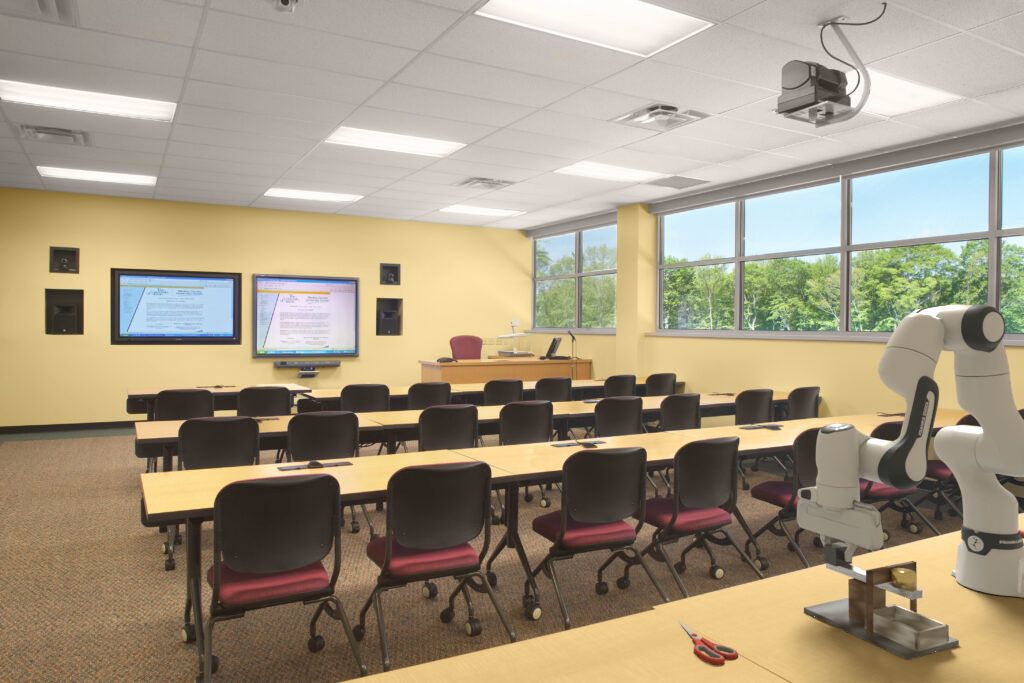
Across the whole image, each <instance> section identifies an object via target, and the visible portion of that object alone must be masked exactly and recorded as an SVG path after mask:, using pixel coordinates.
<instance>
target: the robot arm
mask: <svg viewBox="0 0 1024 683" xmlns="http://www.w3.org/2000/svg"><path fill="white" fill-rule="evenodd" d="M1005 333H1006V322H1005V318H1004V316H1003V314H1002V313H1001V312H1000V311H999V310H998V309H997V308H996V307H994V306H990V305H988V304H987V305H986V304H978V303H977V304H947V305H942V306H935V307H922V308H919V309H915V310H912V311H911V312H910V313H909V314H907V315H906V316H904V317H903V318H902V319H901V320H900V322H899V323H898V324H897V326H896V327H895V329H894V331H893V333H892V334H891V336H889V339H888V340H887V343H886V346H885V348H884V350H883V353H882V355H881V357H880V359H879V363H878V367H877V368H878V370H877V372H878V375H879V378H880V380H881V381H882V383H883V384H884V385H885V387H887V388H888V389H889V390H891V392H894V393H896V394H897V395H899V396H901V397H903V398H904V399H905V402H906V408H905V414H904V418H903V422H902V425H901V430H900V434H899V436H898V437H897V439H895V440H886V439H880V438H876V437H872V436H870V435H868V434H865V433H863V432H861V431H860V430H858V429H857V428H856V426H855V425H853V424H850V423H847V422H845V423H844V422H842V423H841V422H839V423H830V424H827V425H824V426H823V427H820V429H819V431H818V434H817V437H816V444H815V464H816V468H817V474H816V475H817V476H816V478H815V485H812V486H809V487H802V488H798V490H797V496H798V498H799V499H798V501H797V504H796V523H797V524H798V526H799V528H801V529H804V530H806V531H810V532H813V533H816V534H819V538H820V539H819V540H820V541H821V543H822V546H823V547H824V545H826V544H831V543H832V541H831V539H836V540H838V541H840V542H843V543H845V546H846V547H847V549H846V551H845V552H842V553H841V556H842V557H841V560H843V561H846V562H851V561H852V562H853V554H854V553H855V551H856V550H857V548H858V547H861V548H862V549H863V548H864V549H867V550H870V551H872V550H878V549H881V548H882V546H883V545H884V533H883V532H884V531H883V526H882V522H881V512H880V511H879V510H878V508H876V507H875V506H874V505H873V504H871V503H864V502H863V501H861V495H860V494H861V491H860V490H861V486H860V479H865V480H867V481H871V482H875V483H879V484H883V485H885V486H888V487H892V488H894V489H897V490H899V491H909V490H912V489H915V487H917V486H919V485H920V484H921V483H922V482H923V481H924V479H925V478H926V476H927V475H928V468H929V449H930V445H931V440H932V435H933V430H934V425H935V421H936V416H937V412H938V407H939V399H940V388H939V385H938V383H937V382H936V381H935V378H934V376H935V371H936V367H937V364H938V362H939V359H940V357H941V353H942V352H953V369H954V380H955V390H956V397H957V398H956V399H957V403H958V405H959V407H960V408H961V409H962V410H964V411H965V412H966V413H968V414H969V415H971V416H972V417H973V418H975V420H976V421H977V422H978V424H979V425H980V426H979V425H978V426H977V425H969V424H959V425H948V426H943V427H942V428H941V429H939V430H938V431H937V433H936V435H935V437H934V441H933V449H934V451H935V455H936V456H937V458H939V460H940V461H941V462H943V463H944V464H945V466H946V467H947V468H948V469H950V470H949V471H951V473H952V474H953V476H954V478H955V479H956V482H957V484H958V486H959V490H960V494H961V499H962V511H963V512H962V514H963V515H962V516H963V518H962V519H963V520H962V522H963V523H962V524H961V527H960V528H961V529H960V534H961V535H960V536H961V537H960V539H961V540H962V541H961V542H959V543H958V545H957V551H956V561H955V568H953V569H951V572H950V573H951V575H952V576H953V577H955V581H956V582H957V583H958V584H960V585H961V586H964V587H966V588H967V589H971V590H974V591H978V592H982V593H986V594H992V595H996V596H997V595H998V596H1005V597H1016V598H1017V597H1018V598H1024V530H1022V529H1019V502H1018V500H1017V498H1016V496H1015V495H1014V493H1012V492H1010V491H1009V490H1008V489H1006V488H1005V487H1004V486H1002V484H1001V483H1000V482H999V480H998V478H997V476H996V474H998V475H1002V476H1009V477H1014V478H1024V419H1023V417H1022V416H1021V414H1020V412H1019V410H1018V409H1017V406H1016V403H1015V400H1014V396H1013V395H1014V393H1013V389H1012V382H1011V376H1010V374H1011V373H1010V366H1009V365H1010V364H1009V360H1008V354H1007V352H1006V349H1005V345H1004V342H1003V339H1004V336H1005Z"/></svg>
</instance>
